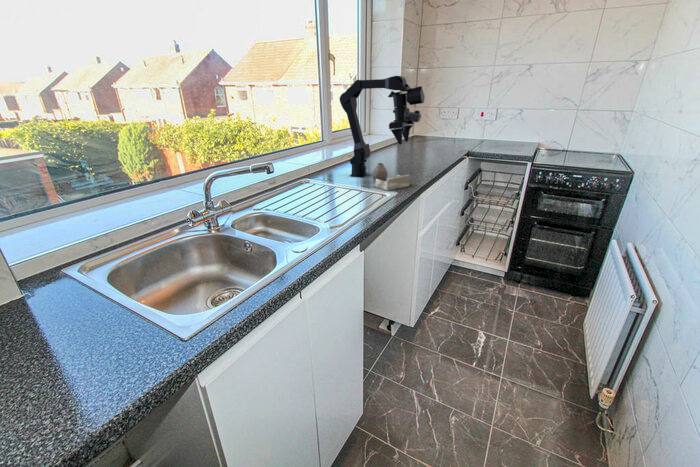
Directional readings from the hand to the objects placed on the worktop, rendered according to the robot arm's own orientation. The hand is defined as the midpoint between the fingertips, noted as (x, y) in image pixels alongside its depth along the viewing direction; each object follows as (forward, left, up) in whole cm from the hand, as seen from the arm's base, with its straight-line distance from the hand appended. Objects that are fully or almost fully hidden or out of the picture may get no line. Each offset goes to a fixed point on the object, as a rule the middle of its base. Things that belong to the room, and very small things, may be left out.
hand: (403, 143), depth 150 cm
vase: (-9, -7, -18) cm, 21 cm away
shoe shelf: (-2, -11, -17) cm, 21 cm away
